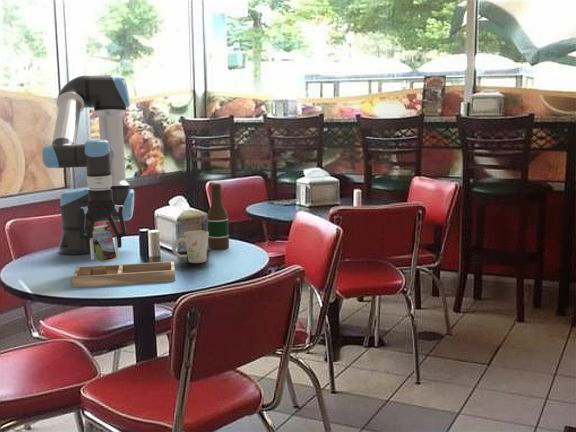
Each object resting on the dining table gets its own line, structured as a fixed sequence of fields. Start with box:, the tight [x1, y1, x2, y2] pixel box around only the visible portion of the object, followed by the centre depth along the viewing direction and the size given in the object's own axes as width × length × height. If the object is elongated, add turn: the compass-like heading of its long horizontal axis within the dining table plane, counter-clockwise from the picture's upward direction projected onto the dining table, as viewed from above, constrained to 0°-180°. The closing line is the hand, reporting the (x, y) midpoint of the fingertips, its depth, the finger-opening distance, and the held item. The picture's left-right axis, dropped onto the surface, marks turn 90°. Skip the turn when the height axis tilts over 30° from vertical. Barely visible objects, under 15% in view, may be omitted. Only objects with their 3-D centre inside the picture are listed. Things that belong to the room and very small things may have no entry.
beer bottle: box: [206, 183, 230, 251], centre depth 263 cm, size 8×8×24 cm
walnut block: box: [90, 265, 107, 275], centre depth 217 cm, size 4×4×4 cm
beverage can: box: [92, 224, 117, 263], centre depth 230 cm, size 6×7×12 cm
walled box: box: [71, 260, 176, 288], centre depth 219 cm, size 13×30×4 cm, turn 100°
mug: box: [171, 229, 209, 264], centre depth 242 cm, size 8×13×10 cm, turn 107°
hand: (105, 258), depth 231 cm, fingers closed on beverage can, 7 cm apart
